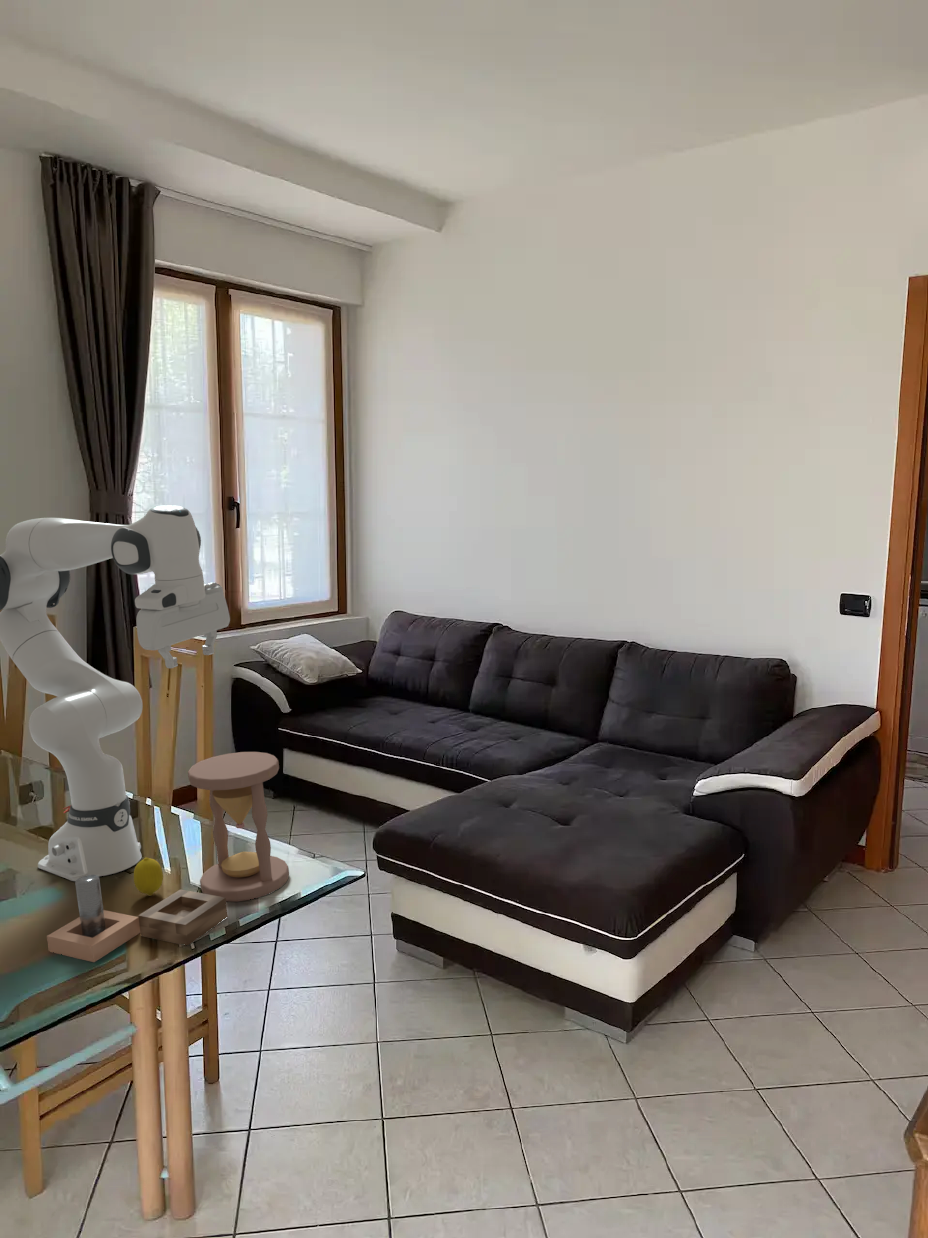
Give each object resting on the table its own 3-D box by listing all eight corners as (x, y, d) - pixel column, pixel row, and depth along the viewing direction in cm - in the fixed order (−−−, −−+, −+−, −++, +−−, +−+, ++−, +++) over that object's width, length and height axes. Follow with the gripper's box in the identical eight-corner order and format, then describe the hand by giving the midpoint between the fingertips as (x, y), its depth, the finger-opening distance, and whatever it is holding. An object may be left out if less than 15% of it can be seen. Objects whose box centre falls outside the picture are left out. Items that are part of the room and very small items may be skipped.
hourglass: (305, 881, 189) (294, 762, 184) (226, 911, 177) (213, 786, 173) (262, 857, 202) (251, 746, 198) (186, 884, 190) (173, 767, 186)
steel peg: (78, 945, 167) (70, 883, 166) (95, 935, 171) (87, 873, 169) (95, 949, 166) (86, 886, 164) (112, 938, 169) (103, 876, 167)
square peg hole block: (140, 936, 170) (138, 915, 169) (182, 908, 179) (180, 889, 179) (187, 946, 165) (185, 925, 164) (227, 917, 175) (225, 897, 174)
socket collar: (48, 951, 166) (46, 936, 165) (96, 923, 176) (94, 908, 175) (94, 962, 161) (91, 946, 161) (140, 932, 171) (138, 917, 170)
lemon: (164, 898, 184) (160, 860, 183) (135, 903, 183) (130, 865, 181) (165, 887, 189) (160, 850, 188) (136, 892, 188) (132, 854, 187)
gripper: (209, 579, 188) (218, 645, 191) (127, 601, 171) (138, 673, 174) (232, 580, 184) (240, 648, 187) (150, 603, 167) (161, 676, 171)
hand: (190, 660), depth 181 cm, fingers open, 8 cm apart
